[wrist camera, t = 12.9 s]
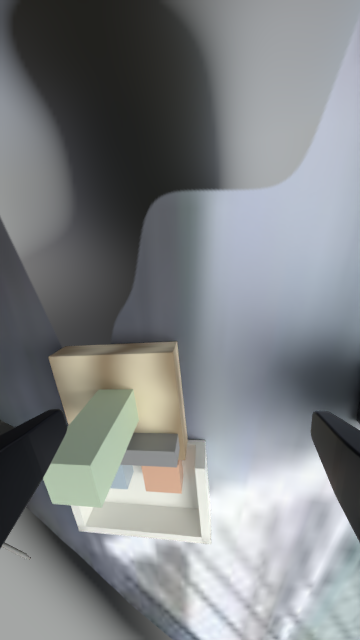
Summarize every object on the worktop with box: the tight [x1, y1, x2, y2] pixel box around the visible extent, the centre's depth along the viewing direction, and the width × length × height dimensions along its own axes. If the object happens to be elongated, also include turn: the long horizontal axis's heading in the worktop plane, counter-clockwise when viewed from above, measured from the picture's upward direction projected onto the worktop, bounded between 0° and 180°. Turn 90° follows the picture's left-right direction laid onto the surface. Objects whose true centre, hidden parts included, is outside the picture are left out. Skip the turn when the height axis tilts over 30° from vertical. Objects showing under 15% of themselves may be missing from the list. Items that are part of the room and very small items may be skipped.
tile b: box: [110, 465, 134, 489], centre depth 24 cm, size 4×4×2 cm
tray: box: [71, 440, 211, 544], centre depth 24 cm, size 16×11×3 cm
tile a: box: [141, 460, 184, 494], centre depth 23 cm, size 4×4×2 cm
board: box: [49, 341, 188, 460], centre depth 21 cm, size 12×12×2 cm
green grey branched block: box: [43, 389, 180, 508], centre depth 17 cm, size 11×7×8 cm, turn 95°
